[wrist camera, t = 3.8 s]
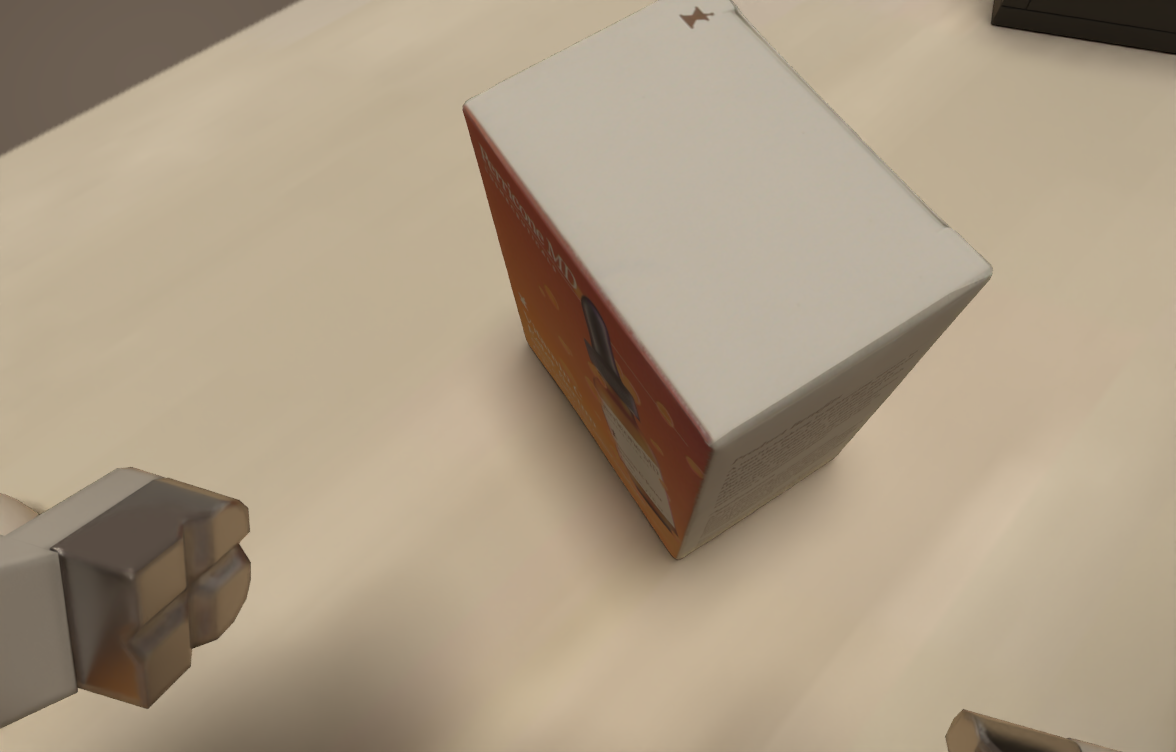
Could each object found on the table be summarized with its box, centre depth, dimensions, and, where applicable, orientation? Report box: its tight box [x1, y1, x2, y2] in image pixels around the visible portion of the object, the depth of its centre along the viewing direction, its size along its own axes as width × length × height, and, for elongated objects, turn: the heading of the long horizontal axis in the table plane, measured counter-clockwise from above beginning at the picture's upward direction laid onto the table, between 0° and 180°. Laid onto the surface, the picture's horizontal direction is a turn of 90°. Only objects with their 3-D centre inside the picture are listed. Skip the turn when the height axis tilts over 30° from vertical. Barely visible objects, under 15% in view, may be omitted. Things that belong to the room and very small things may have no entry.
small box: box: [463, 0, 993, 559], centre depth 18 cm, size 8×6×10 cm
